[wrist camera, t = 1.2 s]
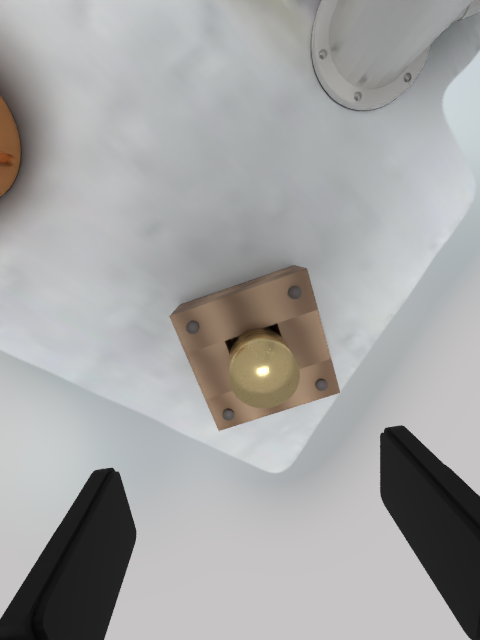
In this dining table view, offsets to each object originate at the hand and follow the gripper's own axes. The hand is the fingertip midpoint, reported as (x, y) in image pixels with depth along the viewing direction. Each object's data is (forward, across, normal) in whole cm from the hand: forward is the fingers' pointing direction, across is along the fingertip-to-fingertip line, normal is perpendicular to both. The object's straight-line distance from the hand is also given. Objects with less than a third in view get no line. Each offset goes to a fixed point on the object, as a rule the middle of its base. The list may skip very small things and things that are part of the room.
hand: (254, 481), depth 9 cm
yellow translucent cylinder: (+26, -2, +4) cm, 27 cm away
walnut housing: (+27, -2, +4) cm, 28 cm away
